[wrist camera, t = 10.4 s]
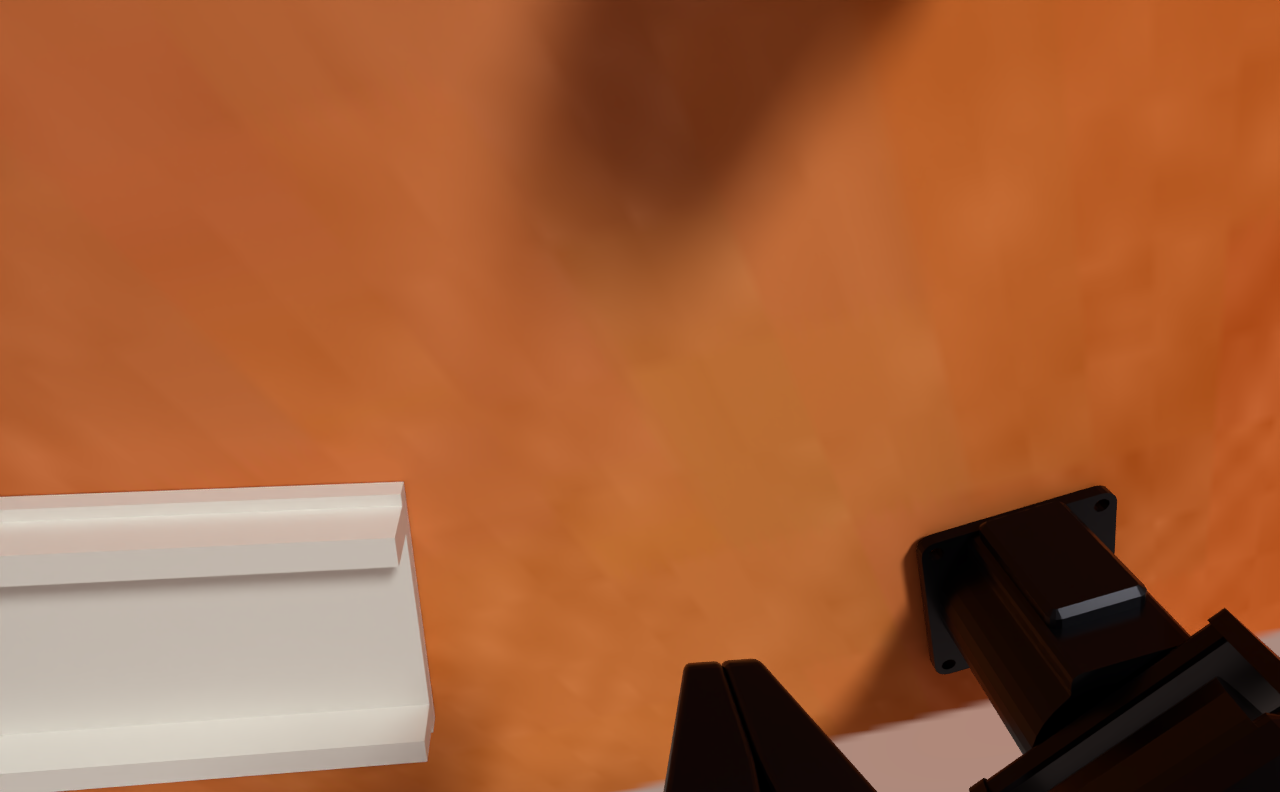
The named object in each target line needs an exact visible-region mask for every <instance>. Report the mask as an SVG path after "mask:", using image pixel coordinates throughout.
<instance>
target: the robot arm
mask: <svg viewBox="0 0 1280 792" xmlns="http://www.w3.org/2000/svg"><path fill="white" fill-rule="evenodd" d="M1116 510H1117V499H1116V496H1115V495H1114V494H1112V493H1111V492H1110V491H1109V490H1108V489H1107V488H1106V487H1105V486H1094V487H1090V488H1087V489H1084V490H1080V491H1077V492H1073V493H1070V494H1067V495H1063V496H1060V497H1057V498H1053V499H1050V500H1046V501H1043V502H1040V503H1036V504H1033V505H1030V506H1026V507H1023V508H1020V509H1016V510H1013V511H1009V512H1006V513H1003V514H999V515H996V516H993V517H989V518H986V519H983V520H979V521H976V522H972V523H969V524H966V525H962V526H959V527H956V528H952V529H949V530H946V531H942V532H939V533H935V534H932V535H929V536H927V537H925V538H923V539H922V540H921V541H920V542H919V543H918V545H917V549H916V552H917V560H918V568H919V576H920V583H921V591H922V599H923V607H924V614H925V622H926V630H927V638H928V645H929V653H930V660H931V662H932V664H933V666H934V668H935V669H936V671H937V672H938V673H940V674H949V673H953V672H956V671H960V670H963V669H967V668H970V669H971V671H972V672H973V674H974V676H975V677H976V679H977V680H978V682H979V684H980V685H981V687H982V689H983V690H984V692H985V693H986V695H987V697H988V698H989V700H990V702H991V703H992V705H993V707H994V708H995V710H996V711H997V713H998V715H999V716H1000V718H1001V719H1002V721H1003V723H1004V724H1005V726H1006V728H1007V729H1008V731H1009V733H1010V734H1011V736H1012V737H1013V739H1014V741H1015V742H1016V744H1017V746H1018V747H1019V749H1020V750H1021V752H1022V754H1023V755H1022V756H1020V757H1019V758H1018V759H1016V760H1015V761H1013V762H1012V763H1011V764H1009V765H1008V766H1006V767H1005V768H1003V769H1002V770H1000V771H999V772H998V773H996V774H995V775H993V776H992V777H991V778H989V779H988V780H987V779H985V778H983V779H982V780H980V781H979V782H977V783H976V784H974V785H973V786H972V787H970V788H969V791H970V792H1280V657H1279V656H1277V655H1276V654H1275V653H1274V652H1273V651H1272V650H1271V649H1269V647H1267V646H1266V645H1265V644H1264V643H1263V642H1262V641H1261V640H1260V639H1259V638H1258V637H1256V636H1255V635H1254V634H1253V633H1252V632H1251V631H1250V630H1249V629H1248V628H1246V627H1245V626H1244V625H1243V624H1242V623H1241V622H1240V621H1239V620H1238V619H1237V618H1235V617H1234V616H1233V615H1232V614H1231V613H1230V612H1229V611H1228V610H1227V609H1225V608H1224V609H1222V610H1221V611H1219V612H1218V613H1217V614H1215V615H1214V616H1212V617H1211V618H1209V619H1208V621H1209V622H1210V623H1209V624H1208V625H1206V626H1205V627H1204V628H1202V629H1201V630H1199V631H1198V632H1196V633H1195V634H1194V635H1192V636H1190V635H1189V634H1188V633H1187V632H1186V631H1185V630H1184V629H1183V628H1182V627H1181V626H1180V625H1179V623H1178V622H1177V621H1176V620H1175V619H1174V618H1173V617H1172V616H1171V615H1170V614H1169V613H1168V612H1167V611H1166V610H1165V609H1164V608H1163V607H1162V606H1161V605H1160V604H1159V603H1158V602H1157V601H1156V600H1155V599H1154V598H1153V597H1152V596H1151V595H1150V593H1149V592H1148V591H1147V589H1146V587H1145V586H1144V584H1143V583H1142V582H1141V581H1140V580H1139V579H1138V578H1137V577H1136V576H1135V575H1134V574H1133V573H1132V572H1131V571H1130V570H1129V569H1128V568H1127V567H1126V566H1125V565H1124V564H1123V563H1122V562H1121V561H1120V560H1119V559H1118V558H1117V557H1116V556H1115V555H1114V552H1115V531H1116ZM934 549H936V550H935V551H933V552H931V551H932V550H934ZM664 792H877V791H876V790H875V789H874V788H873V787H872V786H871V784H870V783H869V782H868V781H867V780H866V779H865V778H864V777H863V775H862V774H861V773H860V772H859V771H858V770H857V769H856V768H855V766H854V765H853V764H852V763H851V762H850V761H849V760H848V759H847V758H846V757H845V755H844V754H843V753H842V752H841V751H840V750H839V749H838V747H836V745H835V744H834V743H833V742H832V741H831V740H830V738H829V737H828V736H827V735H826V734H825V733H824V732H823V731H822V730H821V728H820V727H819V726H818V725H817V724H816V723H815V722H814V721H813V719H812V718H811V717H810V716H809V715H808V714H807V713H806V712H805V710H804V709H803V708H802V707H801V706H800V705H799V704H798V703H797V702H796V700H795V699H794V698H793V697H792V696H791V695H790V694H789V693H788V691H787V690H786V689H785V688H784V687H783V686H782V685H781V684H780V682H779V681H778V680H777V679H776V678H775V677H774V676H773V675H772V674H771V672H770V671H769V670H768V669H767V668H766V667H765V666H764V665H763V664H762V663H761V662H760V661H758V660H756V659H741V660H728V661H725V662H724V663H722V666H721V664H720V663H718V662H714V661H713V662H698V663H688V664H687V665H686V666H685V667H684V670H683V676H682V682H681V688H680V694H679V701H678V707H677V713H676V719H675V725H674V731H673V737H672V743H671V750H670V756H669V762H668V768H667V774H666V780H665V786H664Z"/></svg>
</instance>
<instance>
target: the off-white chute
mask: <svg viewBox="0 0 1280 792" xmlns="http://www.w3.org/2000/svg"><path fill="white" fill-rule="evenodd" d="M434 722H435V713H434V705H433V698H432V690H431V683H430V675H429V668H428V660H427V653H426V645H425V638H424V630H423V623H422V615H421V608H420V600H419V593H418V585H417V578H416V570H415V563H414V555H413V548H412V540H411V533H410V525H409V518H408V510H407V503H406V495H405V488H404V482H383V483H356V484H330V485H303V486H277V487H250V488H224V489H197V490H170V491H144V492H117V493H91V494H64V495H38V496H11V497H0V792H56V791H68V790H81V789H93V788H106V787H118V786H130V785H143V784H155V783H168V782H180V781H192V780H205V779H217V778H229V777H242V776H254V775H267V774H279V773H291V772H304V771H316V770H329V769H341V768H353V767H366V766H378V765H391V764H403V763H415V762H427V761H428V753H429V745H430V737H431V733H432V732H433V730H434Z"/></svg>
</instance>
